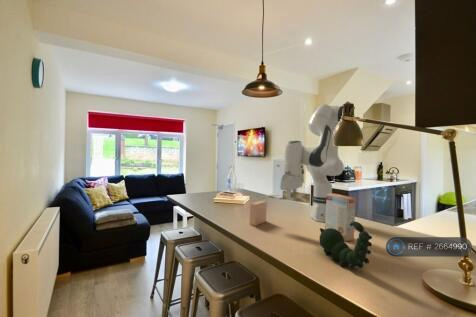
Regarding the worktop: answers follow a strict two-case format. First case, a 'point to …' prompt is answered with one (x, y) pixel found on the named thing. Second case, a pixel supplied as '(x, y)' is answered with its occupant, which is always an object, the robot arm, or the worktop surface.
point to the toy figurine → (346, 246)
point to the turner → (295, 197)
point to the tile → (258, 212)
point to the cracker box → (340, 214)
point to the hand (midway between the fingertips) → (291, 197)
